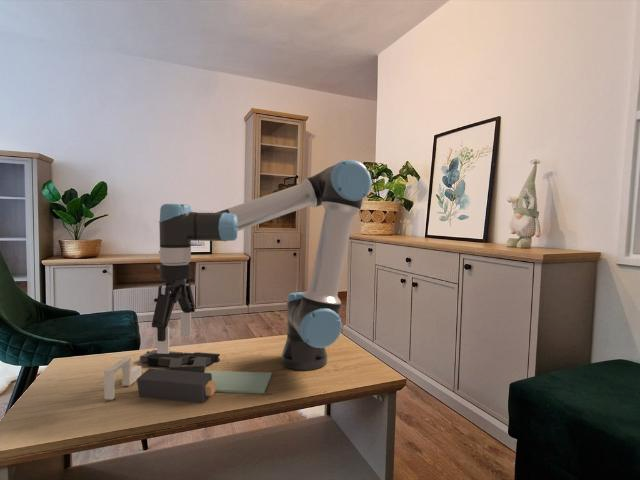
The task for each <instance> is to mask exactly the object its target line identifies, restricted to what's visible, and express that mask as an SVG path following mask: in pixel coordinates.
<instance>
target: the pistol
mask: <svg viewBox="0 0 640 480" xmlns="http://www.w3.org/2000/svg"><path fill="white" fill-rule="evenodd" d="M220 356H221V353H212V352H201V351H200V352H199V351H197V352H196V351H195V352H182V351H171V350H169V353H168V354H160V353H157V349H153V350H151V351H150V350H147V351H146V353H144V354H142V355H140V356H139V361H140V362H144V363H147V366H153V367H154V366H155V367H156V366H161V367H168V370H177V371H189V372H201V373H204V372H205V371H206V366H209V365H213V364H214V363H215V362H220V359H221V358H220ZM189 363H190V364H191V365H184V364H189Z"/></svg>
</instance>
